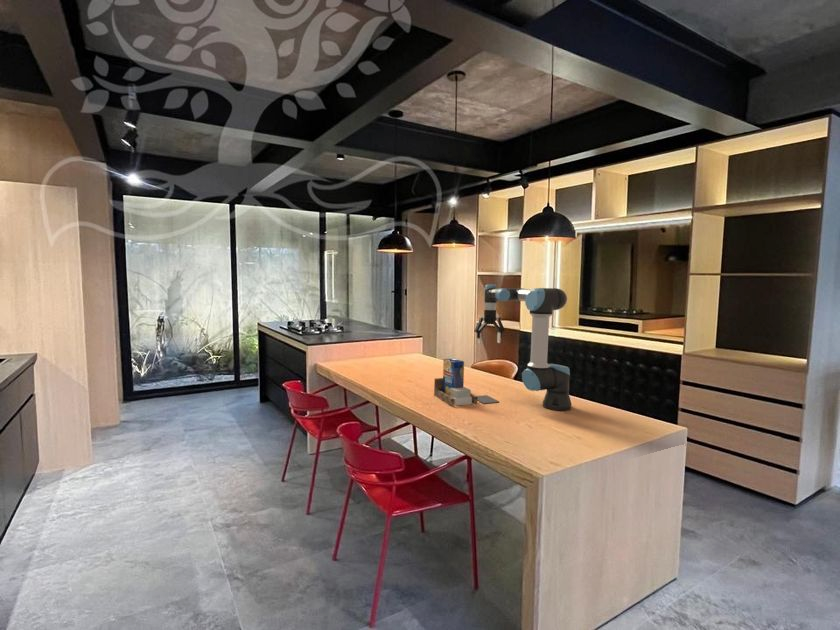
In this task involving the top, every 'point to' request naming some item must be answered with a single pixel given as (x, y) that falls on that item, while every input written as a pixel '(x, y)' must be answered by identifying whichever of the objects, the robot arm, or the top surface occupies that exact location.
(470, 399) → the offcut low
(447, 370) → the beverage box
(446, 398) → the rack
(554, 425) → the top surface
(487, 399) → the mat
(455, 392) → the offcut top
